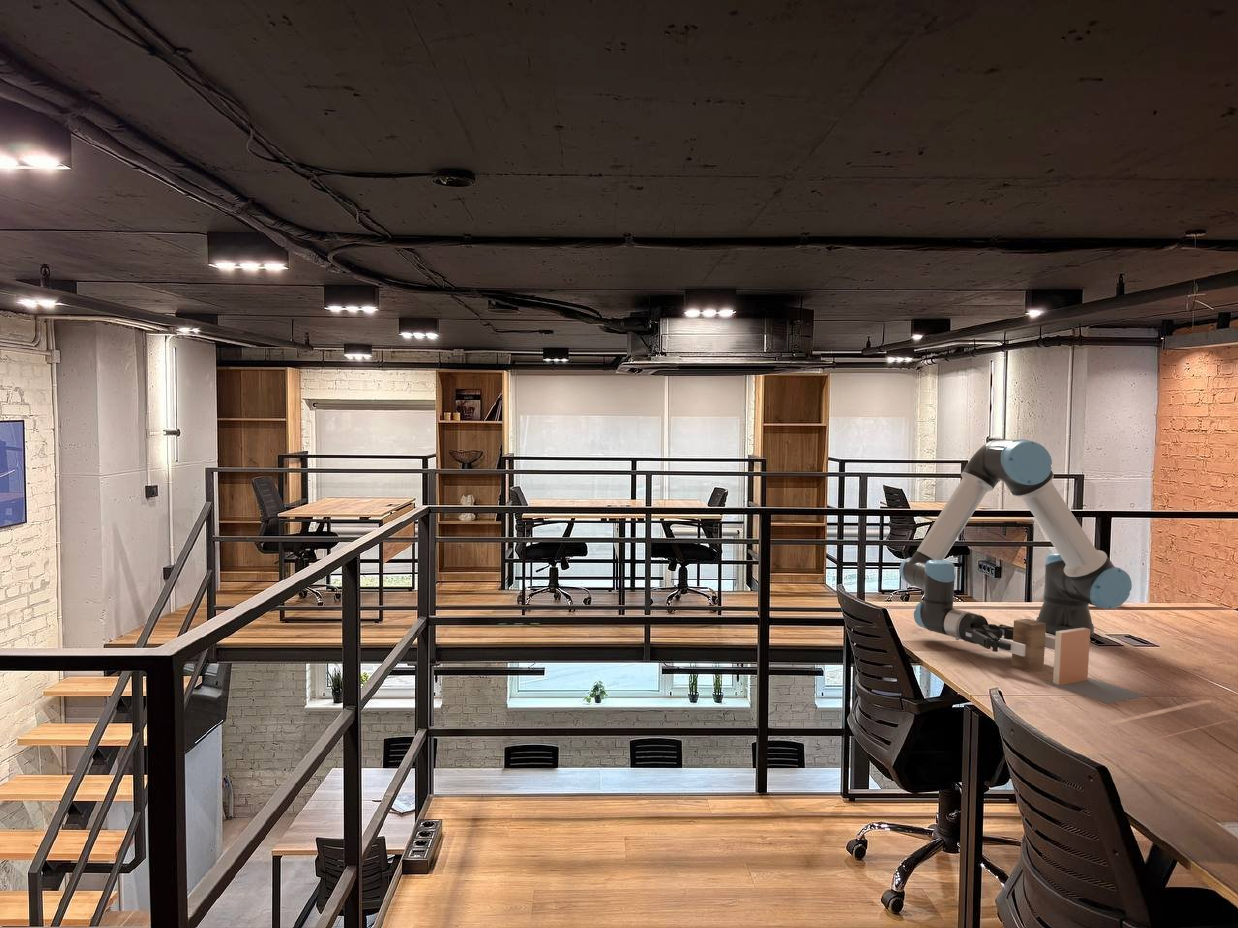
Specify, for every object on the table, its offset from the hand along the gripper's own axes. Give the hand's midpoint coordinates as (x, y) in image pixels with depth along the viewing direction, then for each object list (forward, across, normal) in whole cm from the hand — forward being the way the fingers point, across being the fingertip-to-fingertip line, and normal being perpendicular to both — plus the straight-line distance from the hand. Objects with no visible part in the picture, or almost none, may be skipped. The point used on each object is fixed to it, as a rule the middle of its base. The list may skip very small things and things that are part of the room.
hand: (1042, 647), depth 197 cm
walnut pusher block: (-4, 0, -6) cm, 7 cm away
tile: (+7, 0, -6) cm, 9 cm away
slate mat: (+13, 0, -6) cm, 15 cm away
